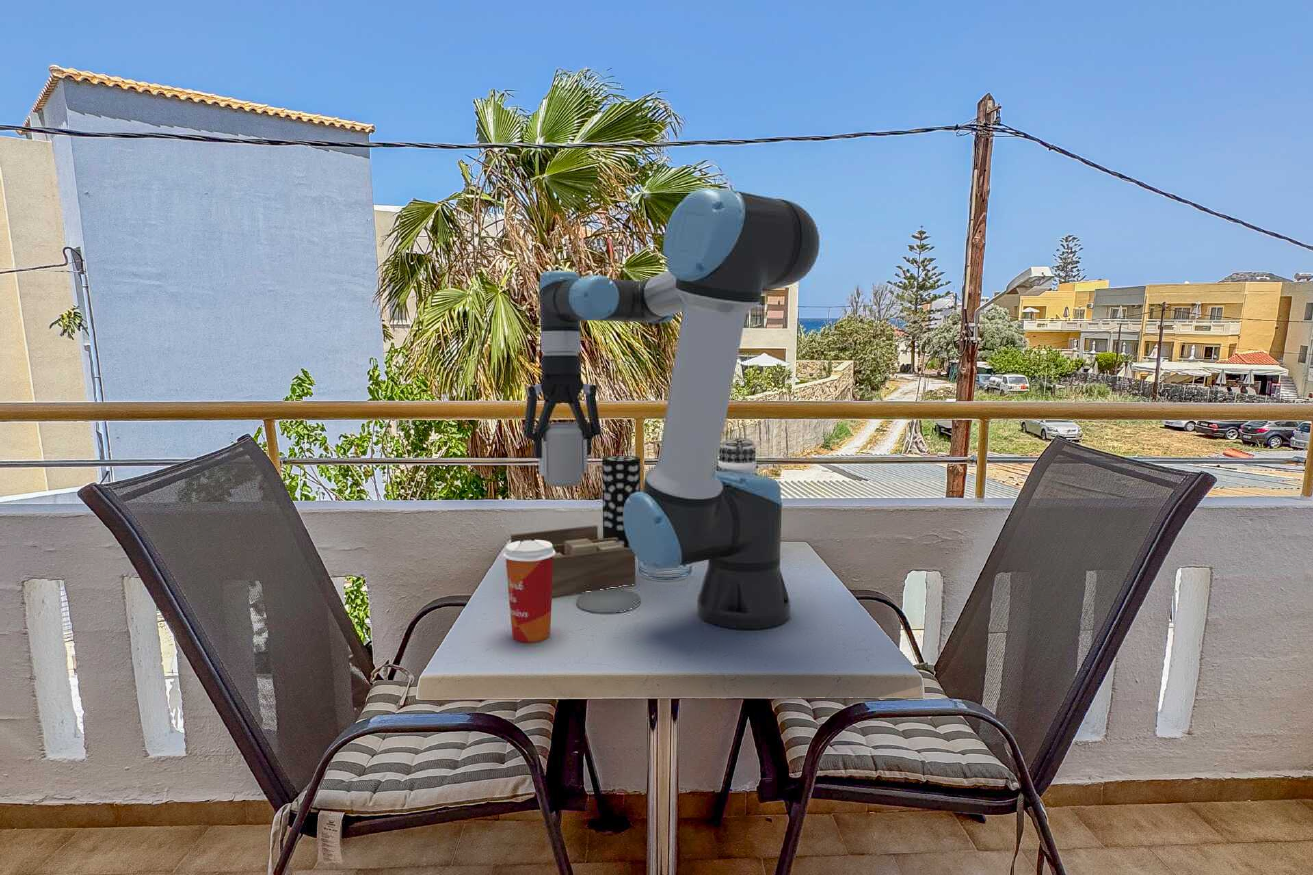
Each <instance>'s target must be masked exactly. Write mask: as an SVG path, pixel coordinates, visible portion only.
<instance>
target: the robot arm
mask: <svg viewBox="0 0 1313 875" xmlns="http://www.w3.org/2000/svg"><path fill="white" fill-rule="evenodd" d="M662 247H663V248H662V250H663V257H665V258H666V259H665V261H664V262H665V266H666V268H667V270H666V271H663V272H661V273H659V274H656V275H655V276H652V277H650V278H646V279H644V280H628V279H615V278H614V279H613V278H609V277H607V276H604V275H603V274H602V275H600V274H597V275H595V274H594V275H593V274H588V275H585V276H581V277H580V276H579V274H578V273H577V272H575V271H571V270H560V269H559V270H549V271H544V272H543V273H541V274H540V277H539V289H538V295H539V316H540V317H539V319H540V321H539V322H540V352H542V354H544V355H543V356H541V359H540V360H541V361H540V362H541V379H540V382H539V384H535V385H527V386H525V394H526V398H527V400H526V408H525V410H526V411H525V418H524V427H523V437H524V438H526V439H528V440H532V442H533V456H534V458H535V459H538V473H539V474H538V475H540V476H541V477H544V476H547V446H546V442H545V441H543V436H544V434H545V431H546V428H547V425H548V423H550V420H551V416H552V415H553V412H554V409H555V408H556V405H557V404H558V405H560V404H567V405H568V406H569V408H570V409H571V411H572V414H573V417H574V419H575V421H576V422H575V423H578V424H579V425H578V427H579V428H580V430H581V431H582V463H583V474H588V456H591V455H592V440H593V439H594V437H596V436H600V435H601V425H600V419H599V418H600V417H599V413H598V406H597V398H596V396H597V391H598V390H597V389H598V386H597V385H596V384H587V383H584V382H583V380H582V357H581V356H580V355H578V354H579V353H581V352H582V346H581V345H582V344H581V343H582V342H581V322H582V321H583V322H585V321H587V322H588V321H593V322H594V321H598V322H632V323H636V322H637V323H648V324H659V323H661V324H662V323H669V322H670V321H672V320H673V319H674V317H675V316H676V315H677V314H678V313H681V318H680V324H679V330H678V337H677V344H676V348H675V349H676V350H675V353H674V354H675V355H674V363H673V366H672V374H671V380H670V386H669V392H668V399H667V404H666V411H665V417H664V422H663V428H662V436H661V442H660V448H659V453H658V459H657V464H655V465H654V466H652V467H650V468H649V469H648V470H647V471H646V472H645V476H644V483H643V488H642V490H641V491H640V492H635V493H634V494H632V495H631V496H630V497H629V498H627V500H626V502H625V505H624V509H623V523H624V529H625V534H626V537H627V540H628V542H629V545H630V547H631V549H632V551H633V552H634V554H635V558H637V560H639V561H640V562H641V563H642V564H643V565H644V566H645V567H647V568H650V569H653V570H663V569H669V568H670V569H677V568H679V567H680V566H686V565H691V564H695V563H699V562H704V561H705V562H706V561H708V564H707V569H706V572H705V573H704V574H705V575H704V578H703V581H702V583H701V587H700V590H699V593H698V595H697V601H696V602H697V604H696V605H697V607H696V608H697V610H696V611H697V614H698V616H699V617H700V618H702V619H703V620H704V621H705V622H708V623H710V624H714V625H715V626H719V627H724V628H730V629H735V630H737V629H738V630H759V629H760V630H761V629H767V628H769V629H770V628H773V627H776V626H780V625H782V624H784V623H786V622H787V621H788V620H789V619H790V617H791V600H790V598H789V594H788V591H787V587H786V584H785V581H784V577H783V575H782V570H781V536H782V507H783V503H782V492H781V485H780V483H779V482H778V481H777V480H776V479H774V478H773V477H769V476H765V475H759V474H758V475H753V474H745V473H736V472H722V471H717V470H716V467H717V465H718V461H719V451H720V446H721V444H722V442H723V441H722V440H723V435H724V430H725V425H726V419H727V415H728V413H727V412H728V408H729V405H730V404H729V403H730V398H731V393H732V388H733V384H734V383H733V382H734V379H735V378H734V377H735V372H736V367H737V362H738V358H739V352H740V346H741V342H742V336H743V331H744V326H745V321H746V316H747V314H748V313H749V312H750V311H751V310H752V309H754V308H755V307H757V306H759V305H760V303H761V298H762V293H764V292H765V293H766V292H770V291H773V290H777V289H781V288H785V287H787V286H791V285H793V284H795V283H798V282H799V281H801V280H802V279H803V278H805V277H806V276H807V274H809V272H810V271H811V270H812V269H813V267H814V265H815V264H816V261H817V258H818V256H819V251H820V235H819V231H818V227H817V226H816V223H815V221H814V219H813V217H812V216H811V215H810V213H809V212H808V211H807V210H806V209H804V208H803V207H802V206H800V205H799V204H797V203H795V202H794V201H790V200H788V199H787V200H786V199H781V198H773V197H769V196H763V195H757V194H753V193H747V192H743V191H737V190H734V189H730V188H727V189H726V188H713V187H712V188H711V187H705V188H700V189H696V190H694V191H693V192H690V193H689V194H687V195H686V196H685V197H684V198H683V199H682V201H681V202H680V203H678V205H677V206H676V207H675V209H674V210H673V211H672V214H671V216H670V217H669V220H668V223H667V225H666V228H665V232H664V237H663V246H662ZM581 391H583V394H584V395H585V404H586V410H587V418H588V420H587V418H586V417H585V415H584V412H583V409H582V407H581V402H580V399H579V397H578V396H579V395H580V394H581ZM540 392H542V393H543V395H544V396H545V400H544V402H543V408H542V409H541V412H540V415H539V419H538V422H537V424H536V427H535V423H536V413H537V406H538V397H539V395H540Z"/></svg>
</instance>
